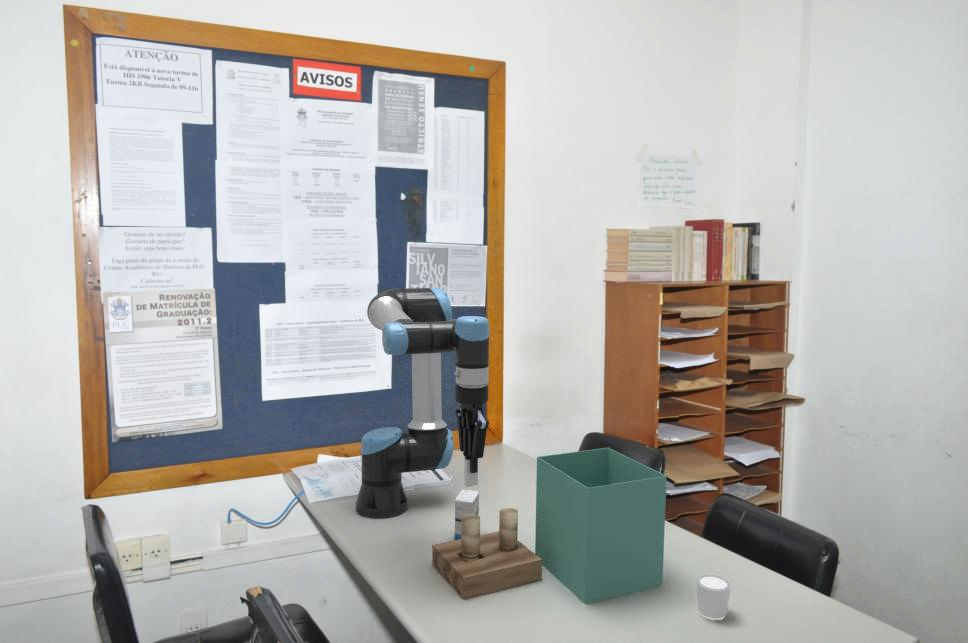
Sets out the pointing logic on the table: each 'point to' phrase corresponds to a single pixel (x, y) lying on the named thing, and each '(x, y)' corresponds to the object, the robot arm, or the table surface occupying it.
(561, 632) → the table surface
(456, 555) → the seat board
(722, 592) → the light grey short cylinder
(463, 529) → the beech leg
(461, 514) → the ink box
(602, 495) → the box
